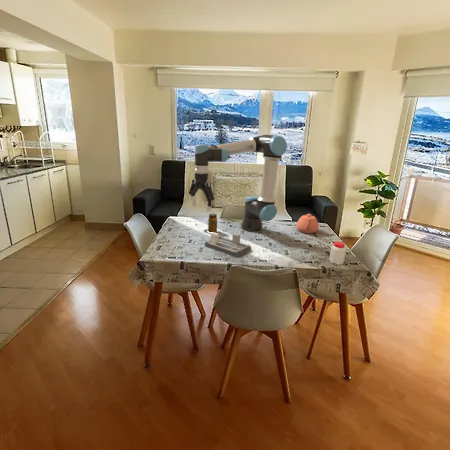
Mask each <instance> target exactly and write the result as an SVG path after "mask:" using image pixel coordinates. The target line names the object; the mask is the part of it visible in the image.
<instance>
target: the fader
mask: <svg viewBox="0 0 450 450" xmlns="http://www.w3.org/2000/svg"><path fill="white" fill-rule="evenodd" d="M219 236H220V234H219V232H217V233H215V232H214V233H211V234H210V240H211V243H213V244H218V241H219Z"/></svg>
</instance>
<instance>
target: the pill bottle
mask: <svg viewBox="0 0 450 450" xmlns="http://www.w3.org/2000/svg"><path fill="white" fill-rule="evenodd" d="M345 245H346V243H344V242H342V241H334V242H333V245H331V247H330V252H329V259H328V261H329V260H330V261H331V262H334V263H343V262H344V263H345V257H346V254H347V253H346V252H347V247H345ZM331 262H330V263H331Z"/></svg>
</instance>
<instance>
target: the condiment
mask: <svg viewBox="0 0 450 450" xmlns="http://www.w3.org/2000/svg"><path fill="white" fill-rule="evenodd" d="M217 216H218V215H217V214H216V213H209V215H208V220H207V223H208V224H207V225H208V227H207V229H204V230H203V232H205V231H207V230H208V231H209V232H213V233H214V232H217V231H218V217H217ZM217 233H220V231H218V232H217Z"/></svg>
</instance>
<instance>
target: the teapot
mask: <svg viewBox="0 0 450 450" xmlns="http://www.w3.org/2000/svg"><path fill="white" fill-rule="evenodd" d="M319 226H320V225H319V223H318V220H317V218H316V217H315V216H313V215H312V214H311V213H307V214H304V215H302V216H301V217H300V218H299V219H298V220H297V223H296V226H295V227H296V230H297V231H299V232H300V233H304V234H315V233H316V232H318V231H319V228H320V227H319Z"/></svg>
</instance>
